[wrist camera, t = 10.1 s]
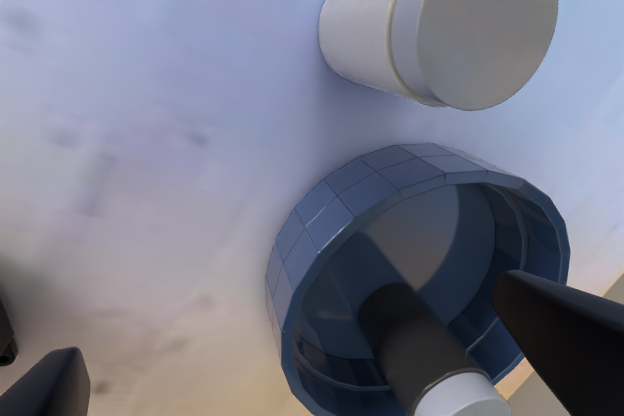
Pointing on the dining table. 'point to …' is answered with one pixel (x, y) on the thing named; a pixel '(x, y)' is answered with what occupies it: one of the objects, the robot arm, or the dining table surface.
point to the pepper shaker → (425, 358)
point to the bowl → (403, 265)
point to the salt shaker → (438, 47)
